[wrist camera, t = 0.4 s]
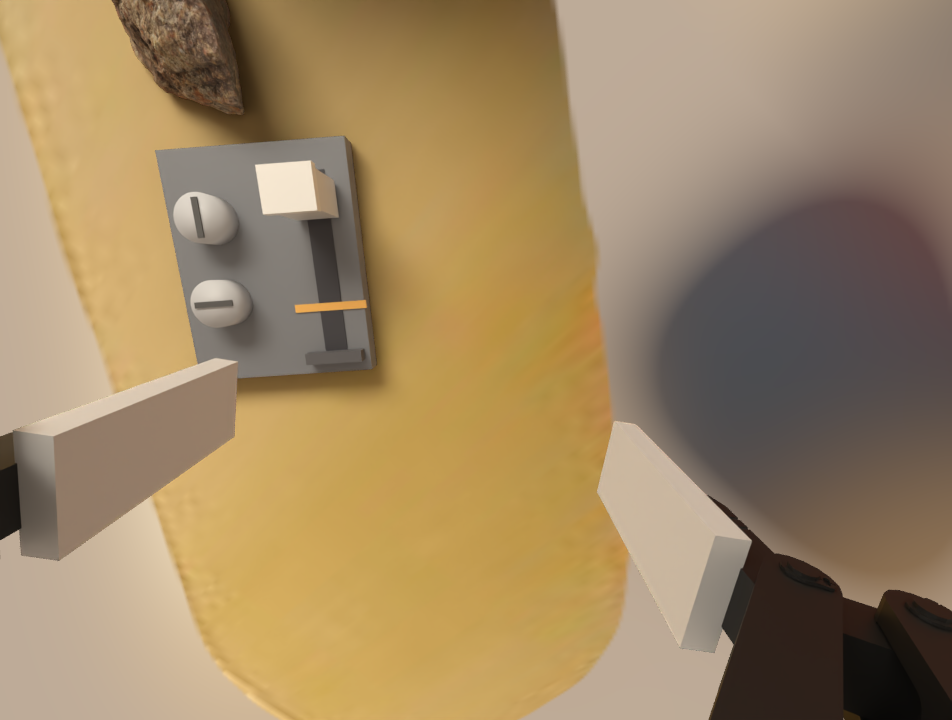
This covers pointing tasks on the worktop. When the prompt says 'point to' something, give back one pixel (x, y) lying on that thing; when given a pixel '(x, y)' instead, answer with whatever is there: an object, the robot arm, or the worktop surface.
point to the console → (269, 261)
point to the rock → (186, 48)
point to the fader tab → (296, 191)
